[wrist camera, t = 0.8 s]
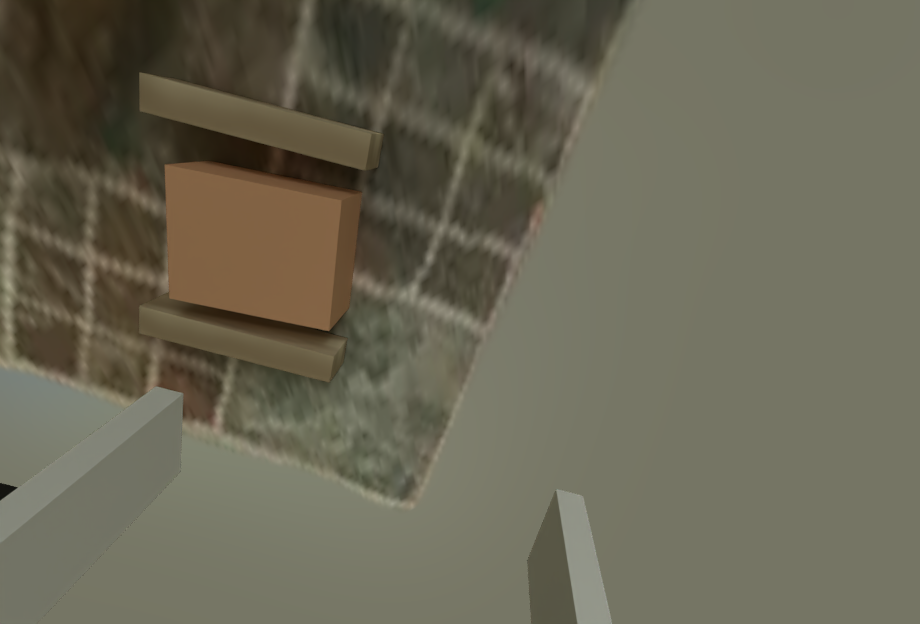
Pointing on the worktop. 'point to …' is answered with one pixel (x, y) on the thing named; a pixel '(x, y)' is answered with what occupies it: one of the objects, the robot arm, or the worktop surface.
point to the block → (260, 242)
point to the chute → (279, 129)
